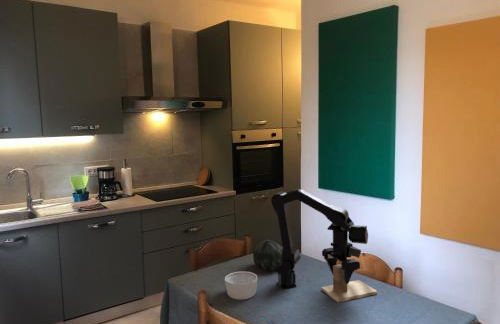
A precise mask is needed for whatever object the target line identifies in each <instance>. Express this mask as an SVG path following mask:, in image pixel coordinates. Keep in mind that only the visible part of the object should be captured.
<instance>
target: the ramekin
mask: <svg viewBox="0 0 500 324" xmlns="http://www.w3.org/2000/svg"><path fill="white" fill-rule="evenodd" d="M224 284H225V288H226V293H227V296H229V298H231V299H233V300H241V301H243V300H247V299H250V298H253V297H254V296H255V295H256V292H257V288H258V287H257V284H258V275H257V274H256V273H254V272H251V271H235V272H232V273H228V275H227V274H226V276H224Z"/></svg>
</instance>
